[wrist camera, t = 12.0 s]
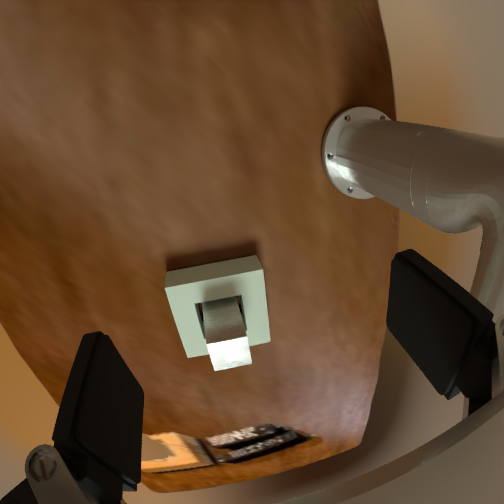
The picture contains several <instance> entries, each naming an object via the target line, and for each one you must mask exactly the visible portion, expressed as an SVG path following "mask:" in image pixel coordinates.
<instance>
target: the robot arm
mask: <svg viewBox="0 0 504 504" xmlns="http://www.w3.org/2000/svg"><path fill="white" fill-rule="evenodd" d="M345 117H346V119H345ZM328 154H329V156H328V157H327V155H328ZM322 162H323V167H324V170H325V172H326V175H327V177H328V178H329V180H330V182H331V183H332V184H333V185H334V186H335V187H336V188H337V189H338V190H339V191H341V192H342V193H344V194H346V195H347V196H350V197H353V198H357V199H368V198H372V197H375V196H376V197H378V198H379V199H381V200H383V201H385V202H387V203H389V204H391V205H393V206H395V207H397V208H399V209H400V210H403V211H404V212H406V213H408V214H410V215H411V216H413V217H415V218H417V219H419V220H420V221H422V222H424V223H426V224H428V225H430V226H431V227H433V228H435V229H437V230H439V231H442V232H445V233H452V234H456V233H457V234H458V233H463V232H467V231H470V230H472V229H475V228H477V227H479V226H481V225H482V228H483V235H482V242H481V247H480V255H479V260H478V264H477V268H476V272H475V276H474V279H473V283H472V287H471V290H470V293H469V292H467V291H466V290H465V289H464V288H463V287H461V286H460V285H459V284H458V283H456V282H455V281H454V280H453V279H451V278H450V277H449V276H447V275H446V274H445V273H444V272H442V271H441V270H440V269H439V268H437V267H436V266H434V265H433V264H432V263H431V262H429V261H428V260H427V259H425V258H424V257H423V256H421V255H420V254H419V253H417V252H416V251H415V250H413V249H408V250H405V251H402V252H399V253H397V254H396V255H395V257H394V259H393V260H392V262H391V274H390V288H389V299H388V309H387V318H386V323H387V327H388V329H389V331H390V332H391V333H392V334H393V336H394V337H395V338H396V339H397V340H398V342H399V343H400V344H401V345H402V347H403V348H404V349H405V350H406V352H407V353H408V354H409V356H410V357H411V358H412V359H413V361H414V362H415V363H416V365H417V366H418V367H419V368H420V370H421V371H422V372H423V373H424V375H425V376H426V377H427V379H428V380H429V381H430V383H431V384H432V385H433V387H434V388H435V389H436V391H437V392H438V393H439V394H440V395H443V394H444V396H445V397H446V398H447V400H450V399H451V398H453V397H454V396H456V395H457V394H459V393H460V391H461V392H462V394H463V395H464V407H463V417H462V421H461V422H459V423H458V424H456V425H455V426H453V427H452V428H450V429H449V430H447V431H446V432H444V433H442V434H441V435H439V436H438V437H436V438H434V439H433V440H431V441H429V442H428V443H426V444H424V445H423V446H420V447H419V448H417V449H415V450H413V451H411V452H409V453H408V454H406V455H404V456H402V457H400V458H398V459H396V460H394V461H392V462H390V463H388V464H385V465H383V466H381V467H379V468H377V469H375V470H372V471H370V472H368V473H365V474H363V475H361V476H358V477H356V478H353V479H351V480H348V481H345V482H343V483H340V484H337V485H335V486H332V487H329V488H326V489H323V490H320V491H317V492H314V493H310V494H307V495H304V496H300V497H297V498H293V499H289V500H285V501H281V502H277V503H273V504H504V138H500V137H492V136H485V135H480V134H474V133H468V132H463V131H458V130H452V129H446V128H440V127H435V126H429V125H422V124H415V123H408V122H400V121H392V120H391V119H390V118H389V117H388V116H387V115H386V114H384V113H383V112H381V111H379V110H377V109H374V108H371V107H354V108H350V109H347V110H345V111H343V112H342V113H340V114H339V115H338V116H336V117H335V119H334V120H333V121H332V122H331V123H330V125H329V127H328V128H327V130H326V133H325V136H324V138H323V143H322ZM143 408H144V392H143V389H142V387H141V386H140V384H139V383H138V381H137V380H136V378H135V377H134V375H133V374H132V372H131V371H130V369H129V368H128V366H127V365H126V363H125V362H124V360H123V359H122V357H121V355H120V354H119V352H118V351H117V349H116V347H115V346H114V344H113V342H112V341H111V339H110V337H109V336H108V335H104V334H103V333H102V332H100V331H98V332H93V333H88V334H85V335H84V336H83V338H82V340H81V343H80V346H79V348H78V351H77V354H76V357H75V360H74V363H73V366H72V369H71V372H70V375H69V378H68V381H67V384H66V388H65V391H64V394H63V398H62V401H61V405H60V408H59V412H58V416H57V419H56V424H55V427H54V432H53V436H52V440H53V441H54V446H51V445H47V444H44V445H39V446H37V447H36V448H34V449H33V450H32V451H31V452H30V453H29V455H28V456H27V458H26V462H25V473H26V477H27V478H26V479H24V480H23V481H22V482H21V483H20V484H19V485H17V486H16V487H15V488H14V489H13V490H11V491H10V492H9V493H8V494H7V495H5V496H4V497H3V498H2V499H1V500H0V504H127V503H126V502H125V501H124V500H123V499H122V493H123V491H137V484H138V483H140V481H141V447H142V425H143Z"/></svg>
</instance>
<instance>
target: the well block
mask: <svg viewBox="0 0 504 504" xmlns="http://www.w3.org/2000/svg"><path fill="white" fill-rule="evenodd" d="M165 290H166V294H167V297H168V300H169V303H170V307H171V310H172V313H173V316H174V319H175V322H176V325H177V328H178V331H179V334H180V337H181V340H182V343H183V346H184V348H185V351H186V354H187V357H188V358H189V357H195V356H201V355H207V354H209V351H208V347H207V344H206V335H205V326H204V321H202V319H201V315H200V312H199V308H198V304H197V303H201V302H206V301H212V300H217V299H222V298H227V297H232V296H237V295H239V296H240V302H241V308H242V314H241V317H242V320H243V324H244V327H245V331H246V334H247V339H248V344H249V346H252V345H257V344H262V343H266V342H270V332H269V322H268V312H267V302H266V293H265V283H264V274H263V268H262V266H261V264H260V262H259V260H258V258H257V256H256V255H253V256H248V257H242V258H237V259H232V260H227V261H221V262H216V263H211V264H206V265H200V266H195V267H190V268H184V269H179V270H174V271H168V272H166V281H165Z"/></svg>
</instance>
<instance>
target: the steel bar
mask: <svg viewBox="0 0 504 504" xmlns="http://www.w3.org/2000/svg"><path fill="white" fill-rule="evenodd" d="M202 308H203V317H204V326H205V335H206V344H207V347H208V351H209V354H210V357H211V361H212V364H213V367H214V370H215V371H217V370H222V369H227V368H232V367H237V366H242V365H247V364H251V363H252V361H251V355H250V350H249V344H248V339H247V334H246V331H245V327H244V324H243V320H242V317H241V313H240V310H239V306H238V303H237V299H236V296H232V297H227V298H222V299H217V300H212V301H206V302H202Z"/></svg>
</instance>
